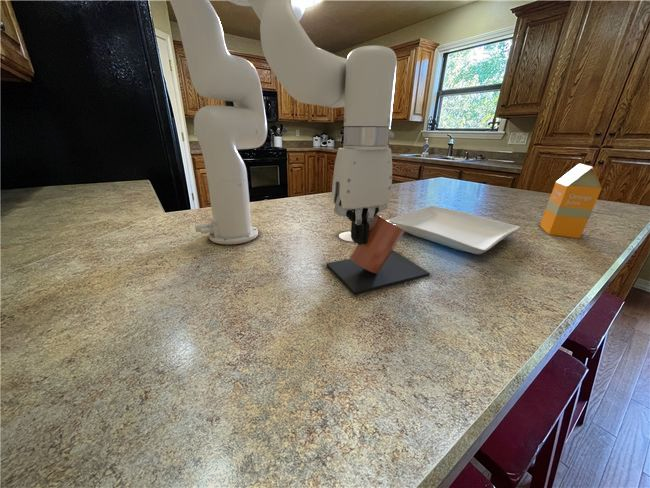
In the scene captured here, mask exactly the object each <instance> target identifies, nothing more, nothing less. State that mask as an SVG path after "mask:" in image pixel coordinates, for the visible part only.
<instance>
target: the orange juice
mask: <svg viewBox="0 0 650 488" xmlns="http://www.w3.org/2000/svg"><path fill="white" fill-rule="evenodd" d="M602 190H603V187H602V185H601V183H600V180H599V177H598V176H597V174H596V171H595V168H594V166H593V165H589V164H584V163H580V162H579V163H578V164H576V165H575V166H574V167H573V168H571V169H570V170H569V171H567V172H566V173H565V174H564V175H562V176H561V177H560V178H559V179H557V180H556V181H555V183H554V186H553V188H552V191H551V194H550V197H549V199H548V202H547V204H546V207H545V210H544V213H543V216H542V217H541V221H540V224H539V226H540V227H541V229H542V230H544V231H545V232H546V233H547V235H549V236H550V235H551V236H558V237H566V238H574V239H581V237H582V234H583V232H584V230H585V228H586V225H587V224H588V222H589V219H590V217H591V215H592V212H593V210H594V207H595V205H596V202H597V201H598V198H599V196H600V194H601V192H602Z"/></svg>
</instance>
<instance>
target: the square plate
mask: <svg viewBox="0 0 650 488" xmlns="http://www.w3.org/2000/svg"><path fill="white" fill-rule="evenodd" d="M387 220H388V221H389V222H391V223H393V224H395V225H397V226H398V227H400V228H402V229H404V230H405V231H404V232H406V233H408V234H410V235H411V236H414V237H417V238H420V239H424V240H427V241H429V242H433V243H436V244H439V245H441V246H444V247H447V248H450V249H453V250H456V251H460V252H464V253H465V252H466V253H469V254H474V255H481V254H484V253H486V252H487V251H489V250H490V249H492V248H493V247H495V245H497V244H498V243H500V242H501V241H503V240H505V239H507V238H508V237H510V236H512V235H513V234H515V233H516V232H518V231H519V230H521V229H522V228H521V226H519V225H515V224H511V223H509V222H508V223H507V222H504V221H500V220H496V219H492V218H489V217H486V216H481V215H477V214H475V213H474V214H473V213H469V212H465V211H460V210H456V209H450V208H445V207H441V206H435V205H430V206H427V207H423V208H420V209H419V208H418V209H416V210H411V211H409V212H405V213H403V214H400V215H397V216H394V217H391V218H389V219H387Z"/></svg>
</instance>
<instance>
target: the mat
mask: <svg viewBox="0 0 650 488" xmlns="http://www.w3.org/2000/svg"><path fill="white" fill-rule="evenodd" d="M326 267H327V268H328V269H329V270H330V271H331V272H332V273H333V274H334V275H335V276H336V277H337V278H338V279H339V280H340V281H341V282H342V283H343V284H344V285H345V286H346V288H348V290H350V292H352V294H353V295H358V294H362V293H366V292H370V291H375V290H378V289H383V288H385V287H386V288H387V287H390V286H395V285H398V284H402V283H406V282H410V281H413V280H417V279H421V278H425V277H429V276H430V274H431V273H430V272H429V271H427V270H426V269H424V268H422V267H421V266H420V265H417V264H416V263H414V262H413V261H412V260H409V259H408V258H406V256H405V257H404V256H403V255H402V254H400V253H398V252H397V251H395V250H393V251H392V252H391V254H390V256H389V257H388V259H387V260H386V262H385V264H384V265H383V267H382V268H381V270H380V271H379V273H378V274H376V273H372V272H370V271H368V270H366V269H364V268H362V267H361V266H359V265H358V264H356V263H355V262H354V261H353V260H352V259H351V258H348V259H347V258H346V259H342V260H338V261H337V260H336V261H332V262H328V263H326Z"/></svg>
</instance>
